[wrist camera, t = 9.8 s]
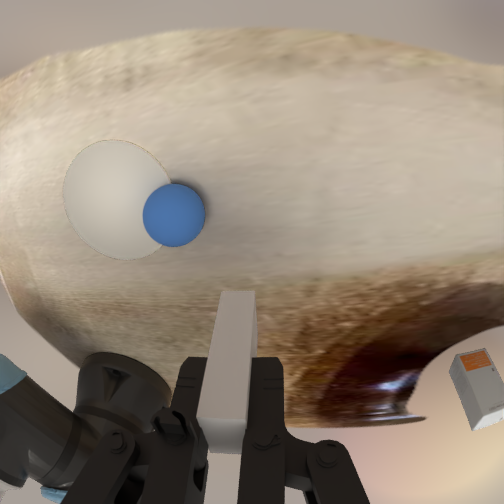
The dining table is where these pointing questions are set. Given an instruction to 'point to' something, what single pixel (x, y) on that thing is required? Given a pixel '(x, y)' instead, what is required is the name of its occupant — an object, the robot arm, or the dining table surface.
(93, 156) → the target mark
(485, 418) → the skincare box
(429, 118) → the dining table surface
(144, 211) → the ball
